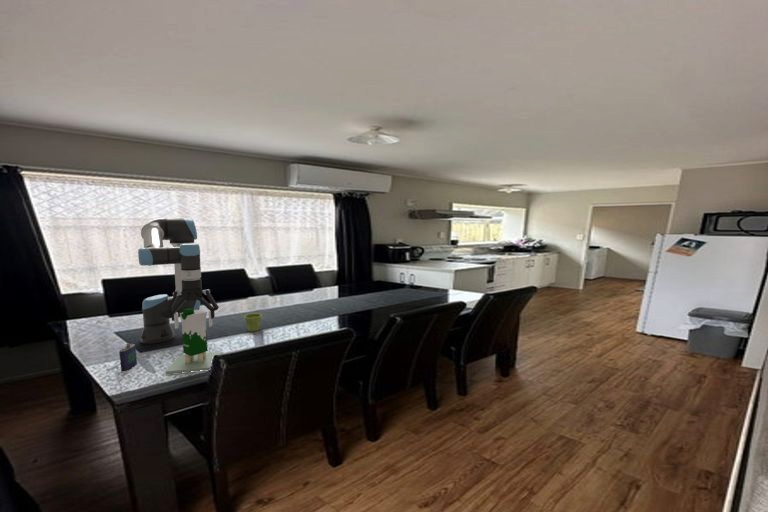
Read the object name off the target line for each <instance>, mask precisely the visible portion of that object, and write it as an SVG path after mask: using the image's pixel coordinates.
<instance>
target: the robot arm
mask: <svg viewBox="0 0 768 512" xmlns="http://www.w3.org/2000/svg"><path fill="white" fill-rule="evenodd" d="M140 236H141V238H142V239H143V247H141V248H139V249H137V251H138V252H137V254H138V257H137V258H138V264H139V265H140V266H148V267H149V266H161V265H173V266H174V279H175V280H174V281H175V282H174V283H175V290H174V291H173V292H172V296H169V295H168V294H166V293H165V294H164V293H163V294H157V295H153V296H149V297H147V298H144V299H143V301H142V307H141V310H142V320H143V328H142V332H141V335H140V343H141V344H145V345H147V344H148V345H150V344H151V345H152V344H160V343H164V342H168V341H170V340H173V339H174V338H175V330H174V329H179V327H180V325H179V318H181V317H180V313H183V309H185V308H194V310H201V308H200V307H201V304H202V305H203V306H204V307H205V308H206V309H207V310H209V311H208V327H212V326H213V319H214V318H215V317H216V314H215V311H218V309H219V308H220V306H219V304H218V303H217V302H216V300H215V298H214V297H213V295H212V294H211V289H210V288H208V289H203V287H202V286H203V285H202V279H201V278H202V267H201V249H200V248H201V247H200V244H198V243H195V240H197V239H198V232H197V228H196V224H195V221H194V220H193V219H192V218H187V217H186V218H185V217H183V218H181V217H180V218H178V217H173V218H172V217H171V218H170V217H168V218H166V217H162V218H161V217H160V218H159V217H158V218H155V219H152V220H150V221H148V222H146V223H145V224H144V225H143V226H142V227H141V229H140ZM164 241H169V244H170V245H171V246H170V247H168V246H167V247H164V243H163V242H164ZM203 294H204V295H205V296H206V297H207V299H208V301H209V302H208V301H207V300H206V298H204V296H203ZM170 319H171V320H170ZM170 321H172V322H174V329H173V327H172V325H171V322H170Z"/></svg>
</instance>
